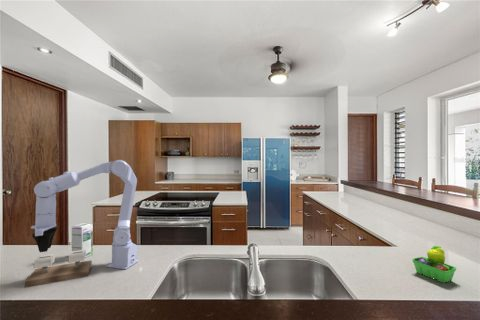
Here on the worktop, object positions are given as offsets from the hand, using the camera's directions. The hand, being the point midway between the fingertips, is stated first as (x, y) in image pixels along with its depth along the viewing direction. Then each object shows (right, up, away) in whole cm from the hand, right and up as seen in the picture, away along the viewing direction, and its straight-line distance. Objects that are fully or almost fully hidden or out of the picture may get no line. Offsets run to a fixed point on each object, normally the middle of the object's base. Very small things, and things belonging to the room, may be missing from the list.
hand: (45, 249), depth 83 cm
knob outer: (0, -5, 0) cm, 5 cm away
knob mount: (+4, -11, +2) cm, 12 cm away
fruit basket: (+148, -12, +3) cm, 148 cm away
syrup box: (0, -11, +19) cm, 22 cm away
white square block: (+9, -5, +4) cm, 11 cm away
